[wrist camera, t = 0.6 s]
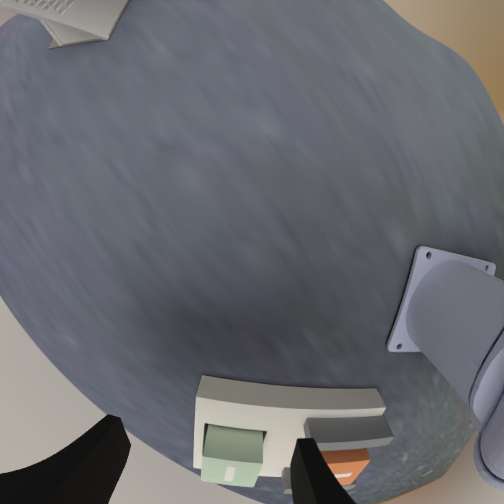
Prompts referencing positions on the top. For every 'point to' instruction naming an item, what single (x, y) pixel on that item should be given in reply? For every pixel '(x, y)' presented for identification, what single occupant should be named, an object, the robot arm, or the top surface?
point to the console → (291, 419)
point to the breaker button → (346, 463)
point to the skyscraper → (72, 18)
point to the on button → (232, 456)
